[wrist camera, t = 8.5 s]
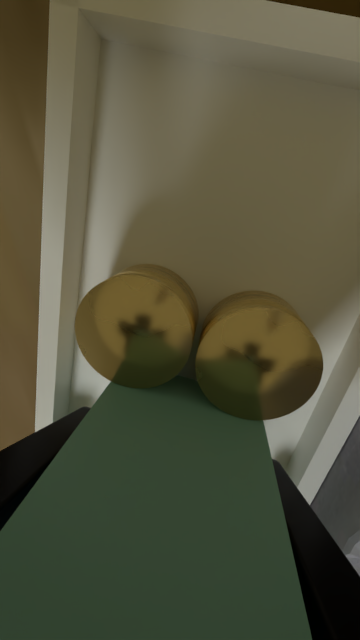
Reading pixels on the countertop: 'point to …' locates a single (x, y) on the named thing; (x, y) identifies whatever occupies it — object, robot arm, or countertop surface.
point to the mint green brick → (153, 529)
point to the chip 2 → (257, 357)
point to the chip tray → (206, 184)
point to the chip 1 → (138, 326)
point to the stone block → (343, 498)
